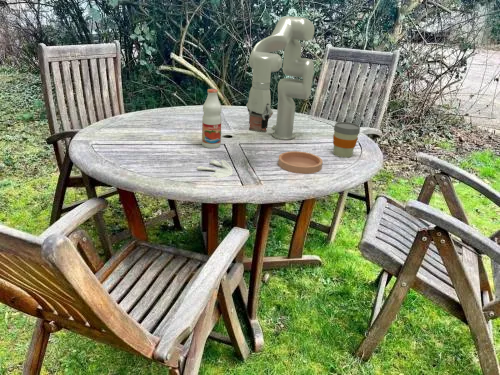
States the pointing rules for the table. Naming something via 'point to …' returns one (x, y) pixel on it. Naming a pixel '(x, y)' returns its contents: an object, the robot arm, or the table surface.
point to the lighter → (256, 122)
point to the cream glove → (221, 173)
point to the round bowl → (300, 162)
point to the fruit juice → (211, 120)
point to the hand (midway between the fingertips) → (258, 125)
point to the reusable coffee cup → (345, 138)
